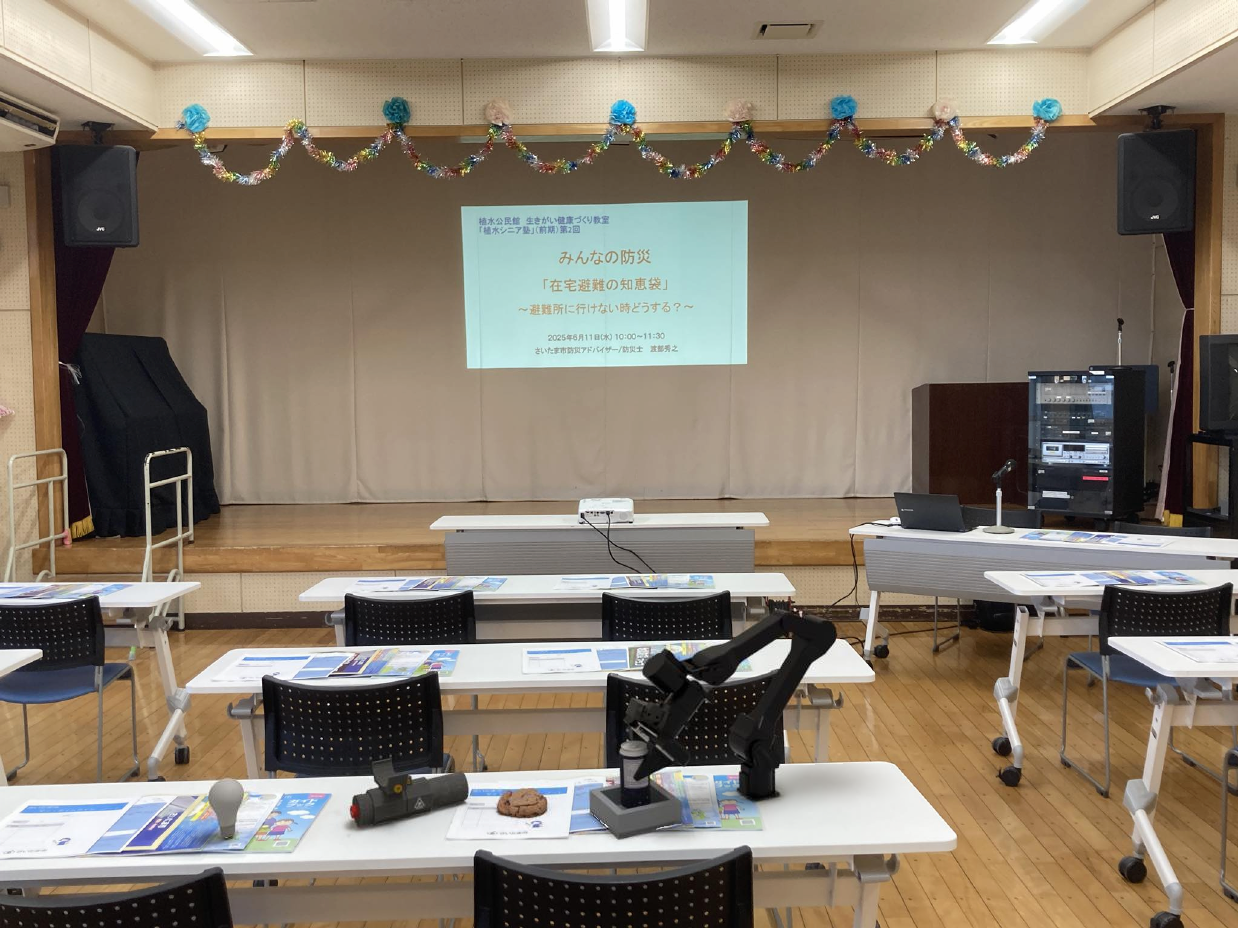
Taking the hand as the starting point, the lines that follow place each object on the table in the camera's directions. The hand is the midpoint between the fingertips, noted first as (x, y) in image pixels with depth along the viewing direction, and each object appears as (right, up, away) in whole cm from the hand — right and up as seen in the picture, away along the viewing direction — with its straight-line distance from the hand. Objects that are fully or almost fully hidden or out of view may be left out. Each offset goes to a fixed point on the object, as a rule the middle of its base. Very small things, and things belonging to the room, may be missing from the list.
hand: (628, 774), depth 182 cm
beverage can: (+1, -7, +1) cm, 7 cm away
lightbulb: (-74, -11, -4) cm, 75 cm away
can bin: (+1, -9, +1) cm, 9 cm away
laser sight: (-42, -10, +6) cm, 44 cm away
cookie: (-21, -9, +7) cm, 24 cm away
